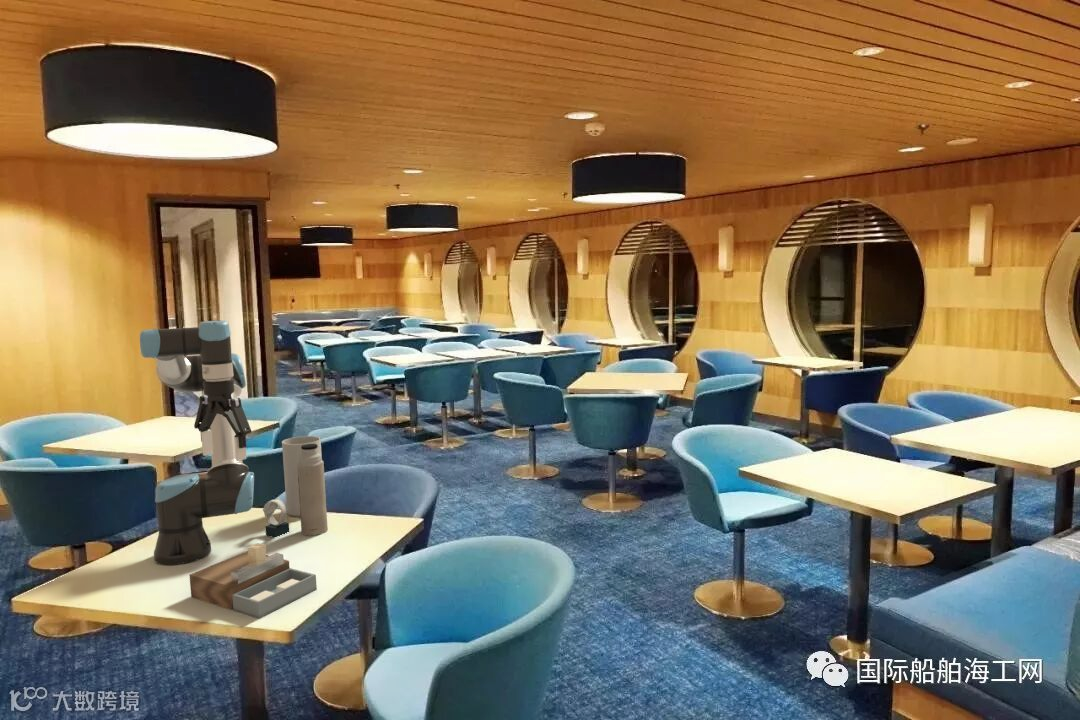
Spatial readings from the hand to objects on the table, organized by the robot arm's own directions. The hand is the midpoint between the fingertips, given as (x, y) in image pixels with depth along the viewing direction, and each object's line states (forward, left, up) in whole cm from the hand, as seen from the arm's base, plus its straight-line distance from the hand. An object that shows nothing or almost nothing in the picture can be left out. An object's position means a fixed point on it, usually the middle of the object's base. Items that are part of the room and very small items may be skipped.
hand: (224, 457), depth 200 cm
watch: (-14, +27, -33) cm, 45 cm away
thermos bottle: (-5, +34, -33) cm, 48 cm away
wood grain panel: (+11, -6, -33) cm, 35 cm away
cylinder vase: (-23, +47, -33) cm, 62 cm away
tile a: (+25, -10, -30) cm, 40 cm away
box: (+24, -6, -33) cm, 41 cm away
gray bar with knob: (+18, -6, -27) cm, 33 cm away
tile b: (+25, -2, -30) cm, 39 cm away
